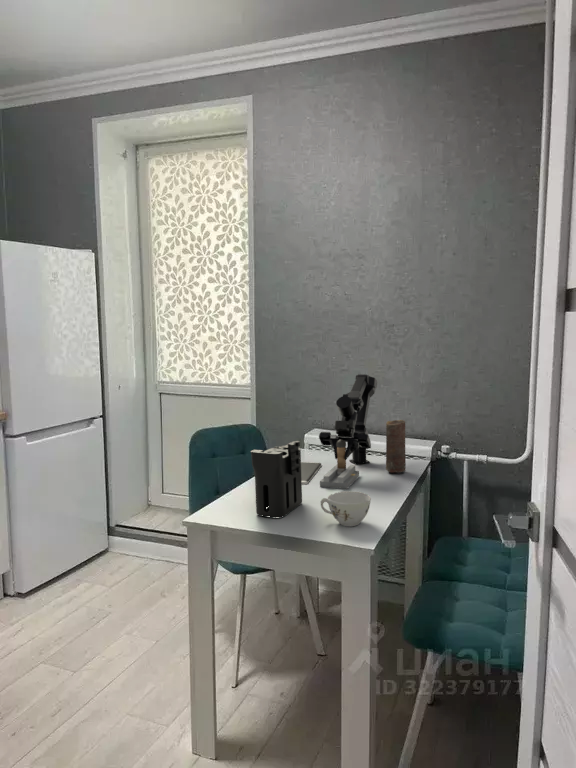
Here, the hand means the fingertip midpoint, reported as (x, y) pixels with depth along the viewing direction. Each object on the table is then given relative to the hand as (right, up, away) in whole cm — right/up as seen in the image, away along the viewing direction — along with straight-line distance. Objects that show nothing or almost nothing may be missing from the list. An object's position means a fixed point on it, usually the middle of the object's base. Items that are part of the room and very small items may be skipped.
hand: (340, 459), depth 213 cm
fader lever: (+1, -6, +2) cm, 6 cm away
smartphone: (-15, -8, +12) cm, 21 cm away
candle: (+22, -7, +9) cm, 25 cm away
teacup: (-2, -13, -42) cm, 45 cm away
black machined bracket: (-20, -12, -28) cm, 37 cm away
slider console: (0, -8, 0) cm, 8 cm away
